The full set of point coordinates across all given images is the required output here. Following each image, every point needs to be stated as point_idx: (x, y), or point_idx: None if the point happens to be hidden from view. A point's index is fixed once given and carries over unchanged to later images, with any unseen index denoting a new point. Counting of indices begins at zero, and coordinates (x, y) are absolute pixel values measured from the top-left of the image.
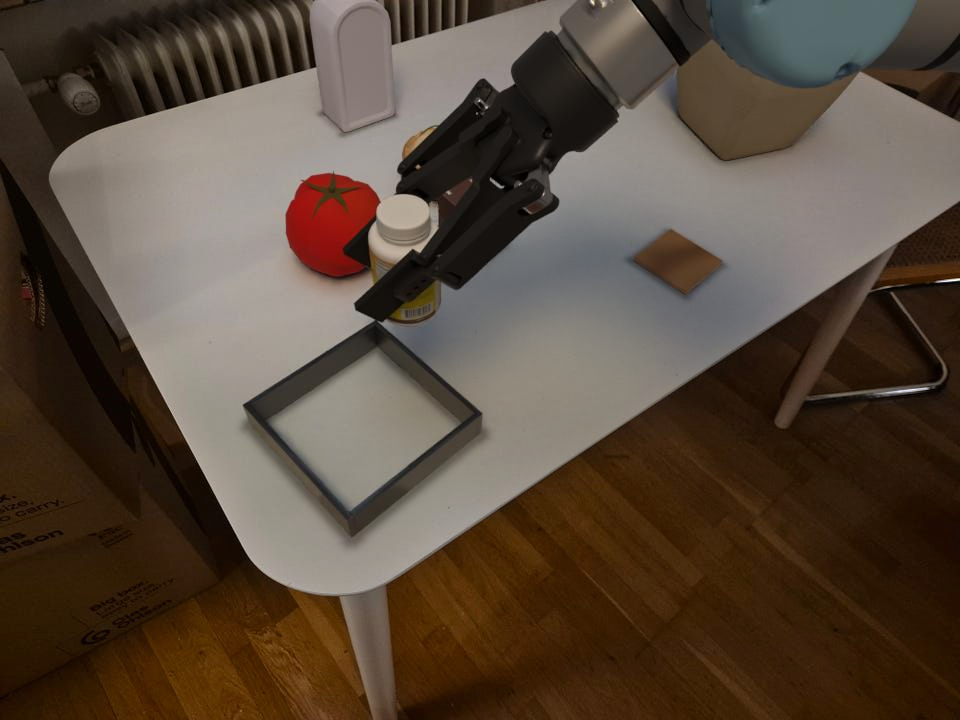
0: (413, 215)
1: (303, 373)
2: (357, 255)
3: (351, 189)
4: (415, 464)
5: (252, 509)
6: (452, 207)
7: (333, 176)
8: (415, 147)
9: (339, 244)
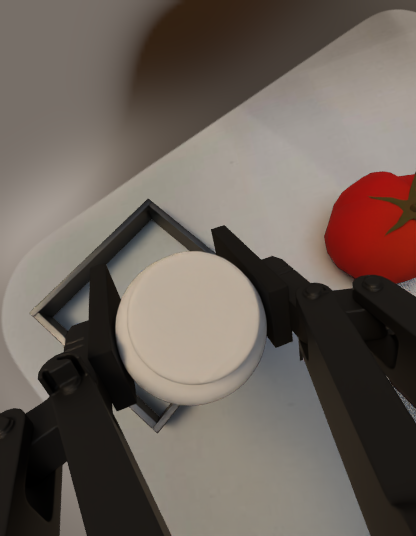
0: (180, 342)
1: (190, 240)
2: (217, 250)
3: None
4: None
5: (71, 234)
6: None
7: None
8: None
9: (345, 236)
